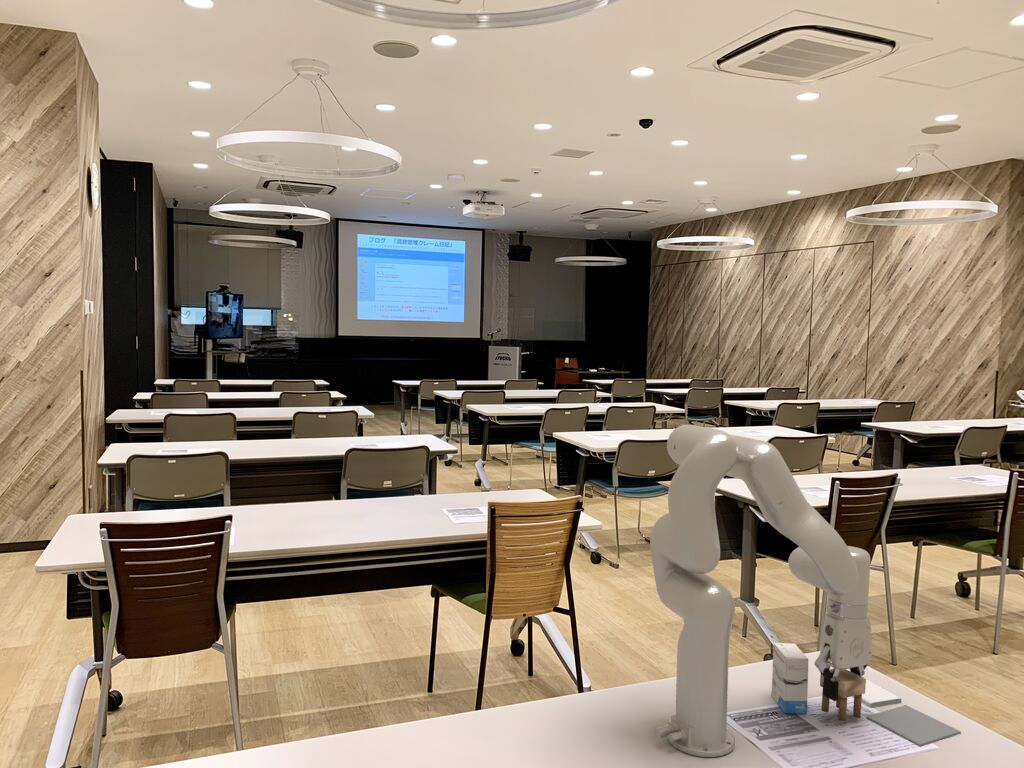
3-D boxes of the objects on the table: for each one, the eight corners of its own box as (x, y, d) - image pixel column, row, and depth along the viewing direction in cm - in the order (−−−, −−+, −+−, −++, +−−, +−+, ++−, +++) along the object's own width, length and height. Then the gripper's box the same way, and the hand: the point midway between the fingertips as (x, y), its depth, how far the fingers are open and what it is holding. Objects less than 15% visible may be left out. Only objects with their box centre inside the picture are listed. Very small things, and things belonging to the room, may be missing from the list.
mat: (920, 746, 143) (920, 744, 143) (866, 718, 154) (866, 716, 154) (960, 733, 148) (960, 731, 148) (905, 706, 159) (905, 704, 159)
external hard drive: (870, 710, 159) (829, 684, 170) (901, 705, 161) (858, 680, 173) (870, 702, 158) (829, 677, 170) (901, 697, 161) (858, 673, 173)
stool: (842, 722, 150) (844, 683, 149) (818, 709, 155) (820, 671, 155) (863, 717, 152) (865, 678, 152) (839, 704, 158) (841, 667, 157)
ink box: (808, 714, 155) (810, 658, 155) (783, 714, 155) (785, 658, 155) (793, 695, 164) (795, 642, 163) (770, 695, 164) (772, 641, 163)
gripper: (831, 619, 146) (826, 710, 147) (892, 609, 153) (886, 696, 154) (801, 607, 153) (796, 694, 153) (861, 598, 160) (856, 681, 161)
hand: (841, 694), depth 154 cm, fingers closed on stool, 6 cm apart
